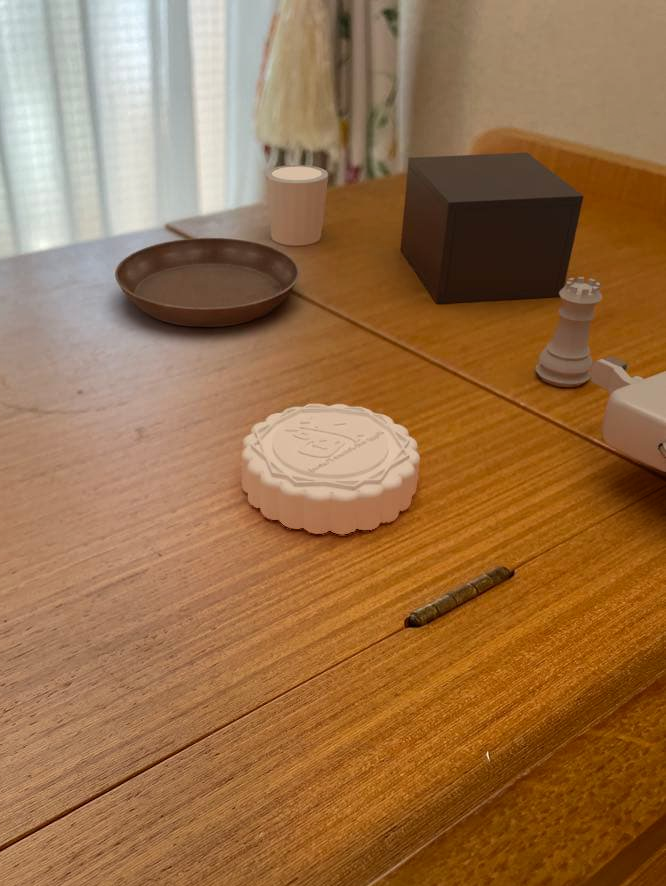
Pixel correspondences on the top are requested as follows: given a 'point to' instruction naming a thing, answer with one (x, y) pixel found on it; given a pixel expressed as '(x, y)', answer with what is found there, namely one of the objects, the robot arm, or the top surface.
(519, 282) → the cabinet
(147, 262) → the plant saucer
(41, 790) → the top surface
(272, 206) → the pale pink cup
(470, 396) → the top surface
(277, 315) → the top surface
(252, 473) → the mooncake
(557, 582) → the top surface
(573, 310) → the rook chess piece
